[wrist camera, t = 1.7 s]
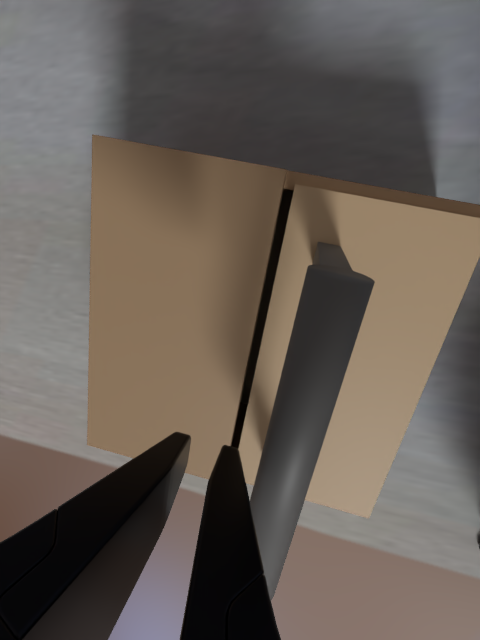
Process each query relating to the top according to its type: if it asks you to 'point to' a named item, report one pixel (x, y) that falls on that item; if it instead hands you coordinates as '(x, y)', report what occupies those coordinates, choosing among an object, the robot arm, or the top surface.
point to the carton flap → (346, 353)
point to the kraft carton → (187, 290)
